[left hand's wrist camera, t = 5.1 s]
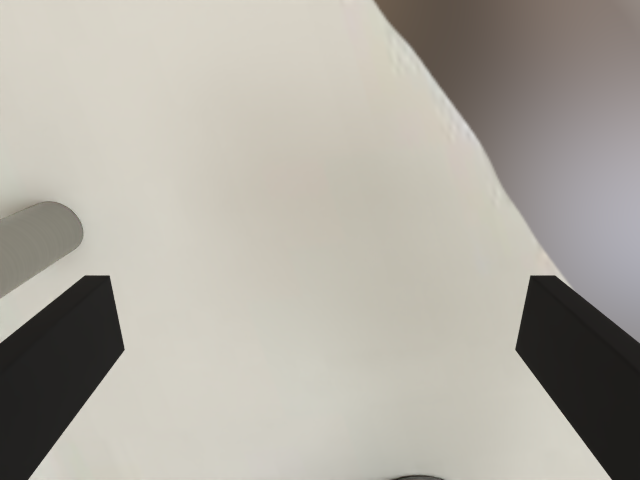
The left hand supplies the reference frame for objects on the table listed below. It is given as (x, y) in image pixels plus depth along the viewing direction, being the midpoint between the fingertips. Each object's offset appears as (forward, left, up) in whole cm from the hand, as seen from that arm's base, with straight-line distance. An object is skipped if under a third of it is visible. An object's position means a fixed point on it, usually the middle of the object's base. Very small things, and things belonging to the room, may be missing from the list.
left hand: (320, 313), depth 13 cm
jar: (-7, +27, -28) cm, 40 cm away
